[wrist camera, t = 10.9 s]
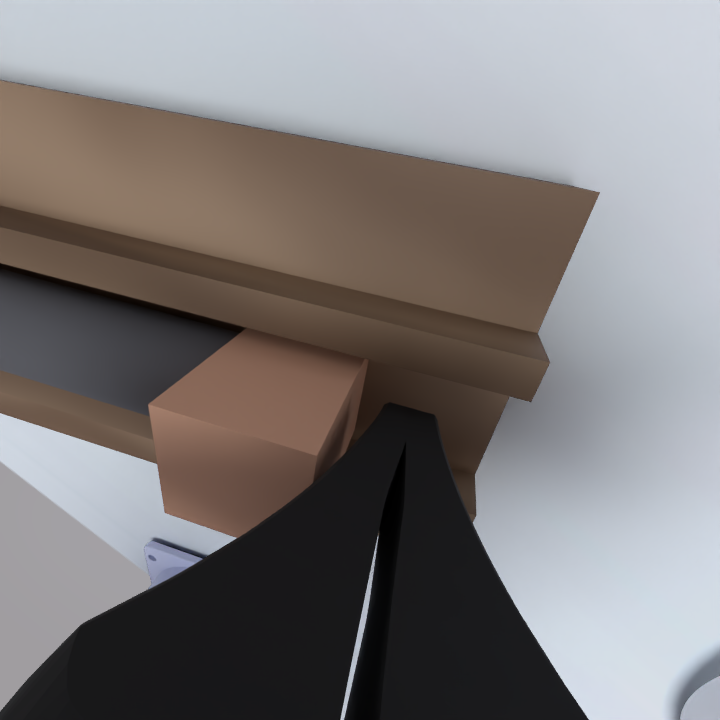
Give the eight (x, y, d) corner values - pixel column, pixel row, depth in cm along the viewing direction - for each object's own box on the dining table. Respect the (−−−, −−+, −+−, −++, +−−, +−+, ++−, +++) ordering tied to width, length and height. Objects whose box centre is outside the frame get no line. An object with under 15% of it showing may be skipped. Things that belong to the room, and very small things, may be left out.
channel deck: (441, 510, 15) (436, 597, 12) (-47, 359, 18) (-148, 399, 15) (573, 186, 9) (628, 199, 6) (-190, 44, 12) (-405, 6, 9)
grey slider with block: (354, 429, 12) (301, 560, 8) (-75, 304, 14) (-281, 358, 10) (371, 345, 10) (316, 455, 6) (-114, 218, 12) (-374, 244, 8)
